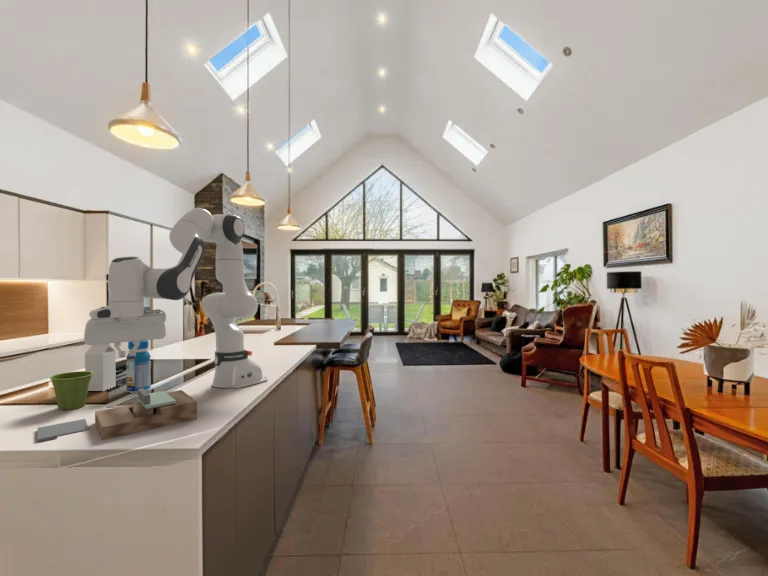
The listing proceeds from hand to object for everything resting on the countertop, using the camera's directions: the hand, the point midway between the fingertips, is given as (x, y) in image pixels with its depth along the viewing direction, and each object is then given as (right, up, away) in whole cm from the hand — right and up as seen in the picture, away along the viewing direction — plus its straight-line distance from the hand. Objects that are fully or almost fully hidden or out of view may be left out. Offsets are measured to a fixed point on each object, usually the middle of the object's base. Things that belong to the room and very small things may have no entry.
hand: (127, 356), depth 114 cm
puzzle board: (+4, -21, +4) cm, 22 cm away
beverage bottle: (-21, -21, +38) cm, 48 cm away
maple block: (+3, -21, +3) cm, 21 cm away
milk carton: (-37, -21, +39) cm, 58 cm away
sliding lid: (+5, -15, +5) cm, 17 cm away
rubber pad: (-16, -21, -3) cm, 27 cm away
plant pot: (-31, -21, +18) cm, 42 cm away
